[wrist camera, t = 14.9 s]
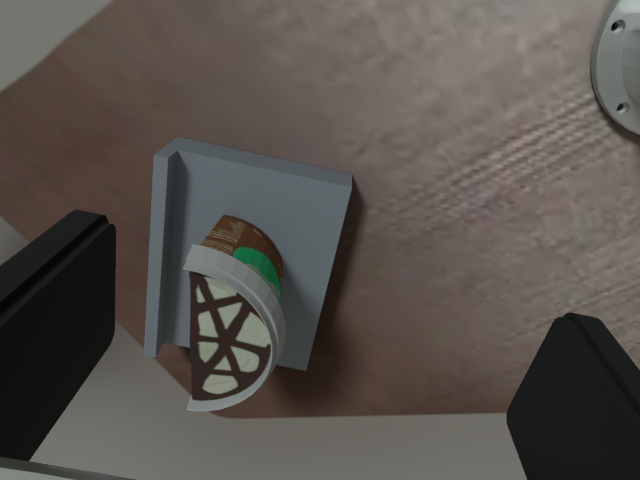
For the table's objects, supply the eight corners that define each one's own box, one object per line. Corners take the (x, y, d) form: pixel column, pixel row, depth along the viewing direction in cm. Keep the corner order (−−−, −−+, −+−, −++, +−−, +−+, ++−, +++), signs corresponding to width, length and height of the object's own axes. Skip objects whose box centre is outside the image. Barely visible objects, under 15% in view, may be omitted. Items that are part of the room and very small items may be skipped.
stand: (352, 174, 38) (352, 197, 34) (308, 349, 46) (304, 386, 42) (177, 136, 38) (153, 155, 33) (164, 320, 46) (143, 355, 41)
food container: (291, 336, 42) (275, 427, 33) (221, 327, 42) (186, 416, 33) (304, 206, 36) (289, 273, 28) (223, 196, 37) (182, 260, 28)
